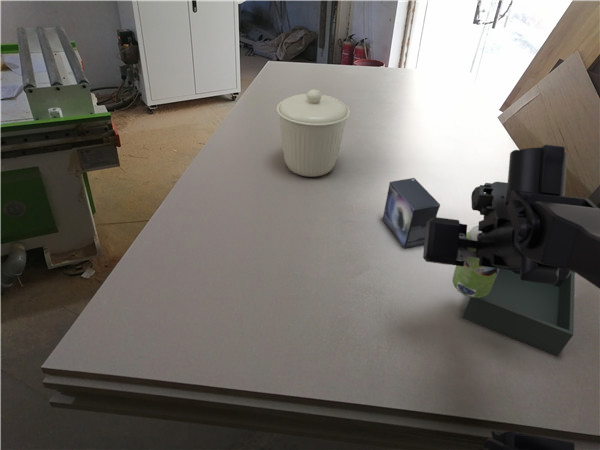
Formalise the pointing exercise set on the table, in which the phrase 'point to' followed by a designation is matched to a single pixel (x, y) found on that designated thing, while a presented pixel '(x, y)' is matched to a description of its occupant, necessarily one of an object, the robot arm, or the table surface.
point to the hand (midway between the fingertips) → (474, 252)
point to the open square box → (527, 310)
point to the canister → (311, 132)
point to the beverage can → (474, 274)
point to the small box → (409, 211)
